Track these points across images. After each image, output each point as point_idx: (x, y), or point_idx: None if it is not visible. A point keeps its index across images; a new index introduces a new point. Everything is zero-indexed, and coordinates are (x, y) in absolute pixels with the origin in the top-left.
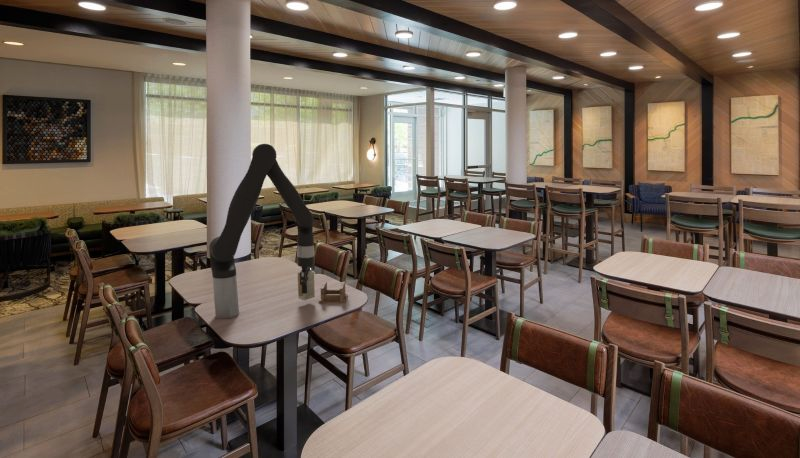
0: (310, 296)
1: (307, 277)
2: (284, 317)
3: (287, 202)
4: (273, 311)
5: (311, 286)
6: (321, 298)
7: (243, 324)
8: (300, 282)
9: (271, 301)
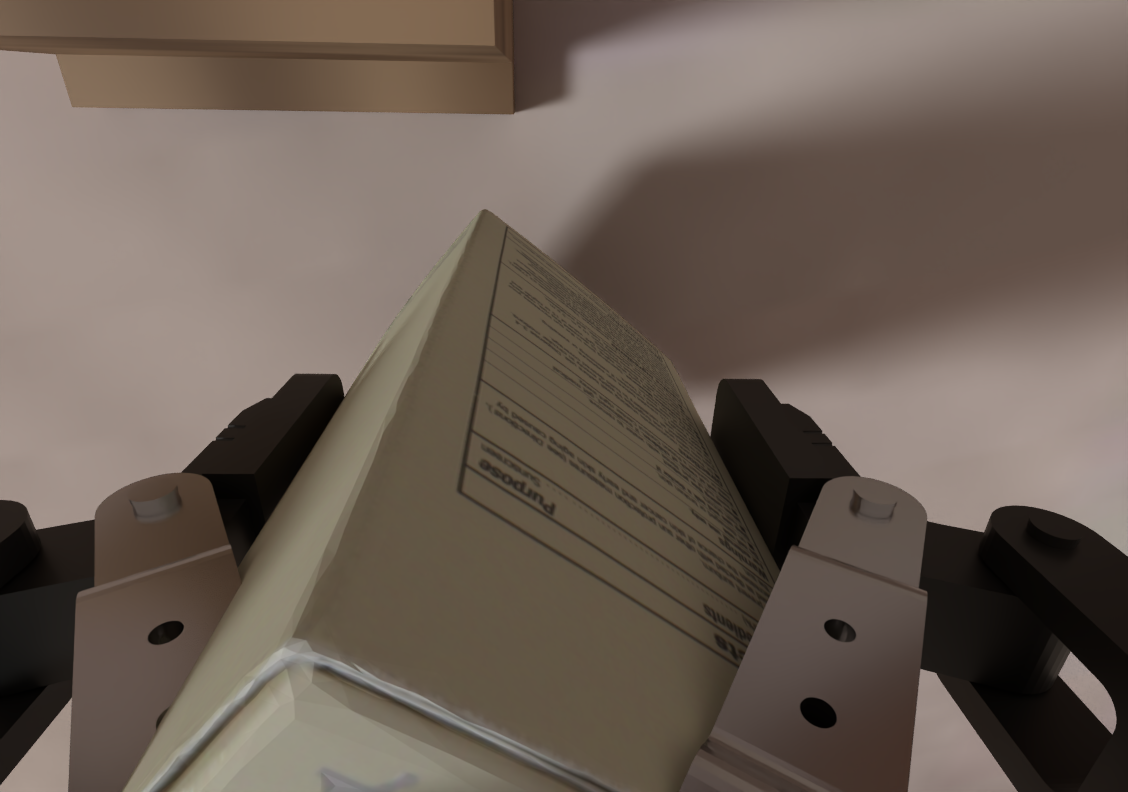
0: (572, 285)
1: (906, 678)
2: (1006, 482)
3: None
4: None
5: (554, 340)
6: (509, 44)
7: None
8: (1085, 723)
9: None
